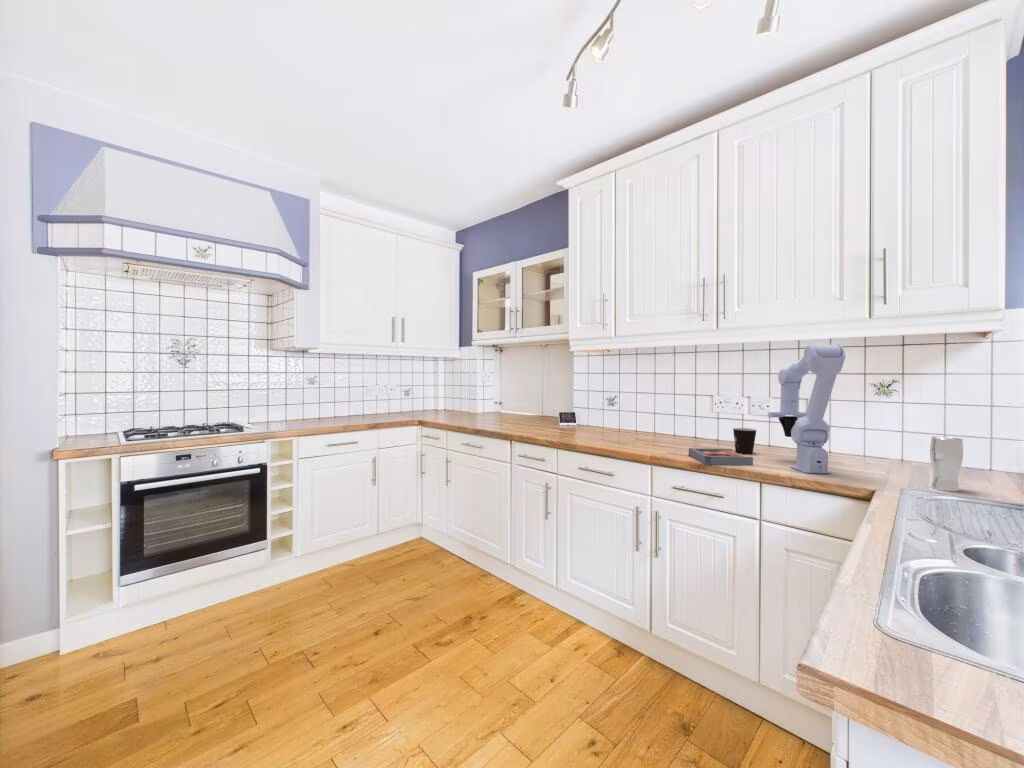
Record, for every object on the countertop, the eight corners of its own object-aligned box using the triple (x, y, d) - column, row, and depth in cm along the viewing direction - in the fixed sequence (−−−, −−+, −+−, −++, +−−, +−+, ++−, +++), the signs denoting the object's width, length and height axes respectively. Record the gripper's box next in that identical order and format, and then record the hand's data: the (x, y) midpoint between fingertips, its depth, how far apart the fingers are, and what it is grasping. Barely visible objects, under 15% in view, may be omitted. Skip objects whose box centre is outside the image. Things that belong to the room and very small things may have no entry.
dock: (752, 465, 161) (753, 457, 161) (706, 464, 162) (706, 456, 162) (730, 456, 179) (730, 448, 179) (688, 455, 180) (688, 448, 180)
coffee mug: (753, 455, 181) (754, 431, 180) (730, 453, 186) (731, 429, 186) (758, 451, 190) (759, 428, 190) (736, 449, 195) (736, 426, 195)
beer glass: (934, 485, 135) (936, 435, 135) (965, 490, 129) (967, 439, 129) (924, 487, 132) (926, 437, 132) (956, 493, 126) (958, 440, 126)
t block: (728, 457, 176) (728, 450, 176) (743, 464, 164) (743, 456, 164) (697, 457, 177) (697, 449, 176) (710, 463, 165) (710, 455, 164)
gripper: (802, 400, 174) (801, 435, 174) (764, 400, 174) (763, 434, 175) (813, 401, 167) (812, 437, 167) (774, 401, 167) (773, 437, 168)
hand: (788, 436), depth 170 cm, fingers closed
